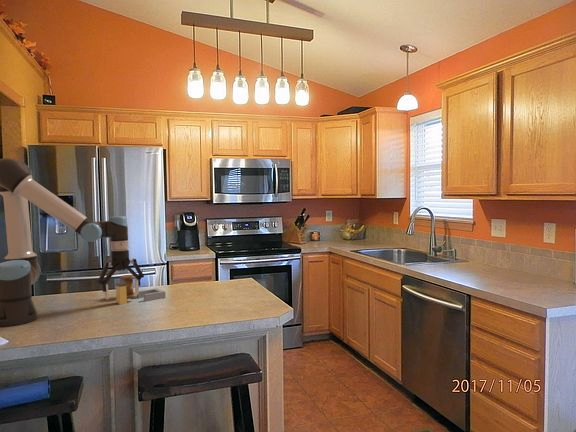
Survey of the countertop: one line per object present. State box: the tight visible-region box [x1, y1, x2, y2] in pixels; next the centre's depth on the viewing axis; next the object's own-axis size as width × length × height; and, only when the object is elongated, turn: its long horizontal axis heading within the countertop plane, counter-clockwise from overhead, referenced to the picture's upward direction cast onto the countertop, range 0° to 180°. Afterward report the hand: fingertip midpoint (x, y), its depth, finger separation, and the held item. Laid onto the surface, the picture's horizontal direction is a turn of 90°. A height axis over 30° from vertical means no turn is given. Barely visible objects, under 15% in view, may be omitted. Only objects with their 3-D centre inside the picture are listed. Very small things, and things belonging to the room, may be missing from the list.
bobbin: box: [119, 274, 137, 299], centre depth 203 cm, size 9×9×10 cm
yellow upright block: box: [115, 281, 128, 305], centre depth 191 cm, size 3×5×9 cm, turn 41°
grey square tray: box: [136, 287, 167, 302], centre depth 200 cm, size 10×10×3 cm
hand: (122, 296), depth 191 cm, fingers open, 13 cm apart
